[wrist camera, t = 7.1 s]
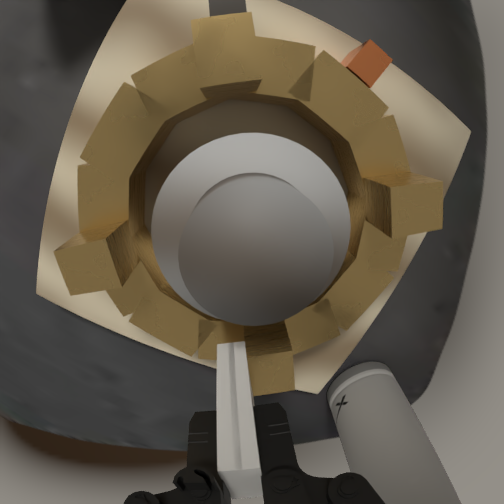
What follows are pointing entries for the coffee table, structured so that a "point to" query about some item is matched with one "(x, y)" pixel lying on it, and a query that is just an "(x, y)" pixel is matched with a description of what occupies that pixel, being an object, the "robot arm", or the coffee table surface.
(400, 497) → the travel mug
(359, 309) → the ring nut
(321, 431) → the coffee table surface
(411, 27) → the coffee table surface
